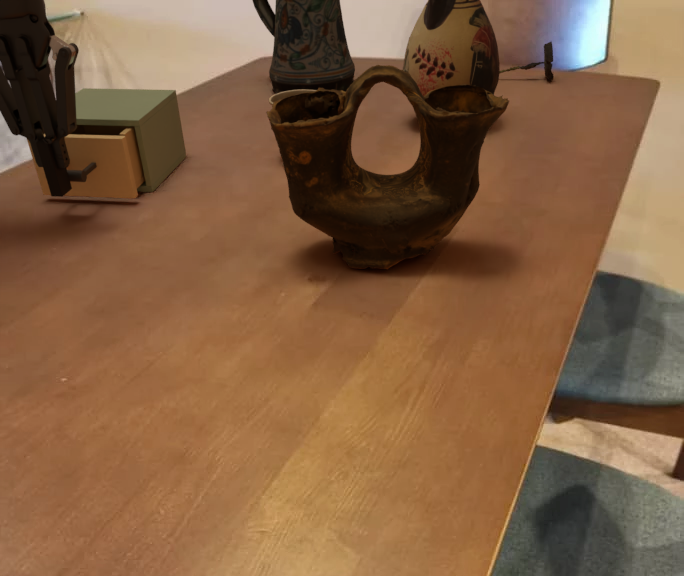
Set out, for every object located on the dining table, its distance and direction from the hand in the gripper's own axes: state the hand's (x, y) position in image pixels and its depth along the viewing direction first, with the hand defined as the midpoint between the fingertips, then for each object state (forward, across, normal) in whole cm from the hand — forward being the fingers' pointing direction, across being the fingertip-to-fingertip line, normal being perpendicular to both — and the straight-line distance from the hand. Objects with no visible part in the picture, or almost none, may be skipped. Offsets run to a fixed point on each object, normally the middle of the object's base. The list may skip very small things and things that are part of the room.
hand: (61, 192), depth 92 cm
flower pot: (+4, -26, -27) cm, 37 cm away
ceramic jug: (+4, -46, -45) cm, 64 cm away
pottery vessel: (+4, -42, +4) cm, 42 cm away
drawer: (+3, 0, -11) cm, 11 cm away
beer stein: (+4, -18, -66) cm, 68 cm away
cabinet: (+4, 0, -18) cm, 19 cm away
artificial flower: (+4, -54, -73) cm, 90 cm away
